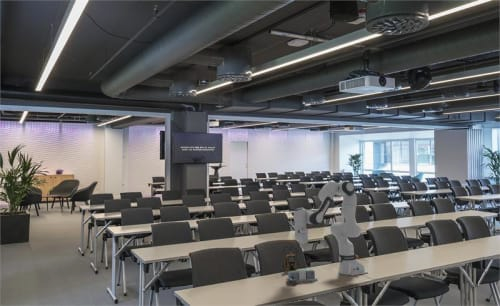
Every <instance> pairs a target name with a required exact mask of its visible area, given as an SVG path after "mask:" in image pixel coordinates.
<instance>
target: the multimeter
mask: <svg viewBox="0 0 500 306" xmlns="http://www.w3.org/2000/svg"><path fill="white" fill-rule="evenodd" d="M286 248H287V246H285V247H284V249H283V252H282V253H284V252H285V249H286ZM292 248H295V254H293V250H292ZM297 255H298V254H297V248H296V247H295V246H293V245H292V246H291V247H290V252H289V254H286V256H285V264H283V268H285V267H286V271H287V272H285V274H288V271H297V265H298V269H301V268H300V266H299V264H297V263H299V262H298V259H297V257H298V256H297ZM285 265H286V266H285Z"/></svg>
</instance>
